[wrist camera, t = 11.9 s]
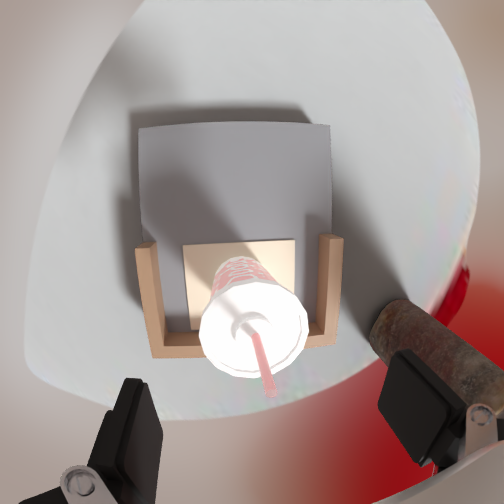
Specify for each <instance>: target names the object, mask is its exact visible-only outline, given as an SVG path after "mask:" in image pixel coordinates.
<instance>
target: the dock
mask: <svg viewBox="0 0 504 504" xmlns="http://www.w3.org/2000/svg"><path fill="white" fill-rule="evenodd" d="M138 163H139V195H140V212H141V226H142V238H143V243H142V244H140V245H139V246H138V247H136V248H135V256H136V265H137V273H138V280H139V287H140V294H141V300H142V306H143V312H144V318H145V323H146V329H147V334H148V339H149V344H150V348H151V353H152V357H153V358H201V357H206V355H205V354H204V352H203V348H202V345H201V342H200V339H199V330H200V324H201V318H202V314H203V310H204V309H205V307H206V306H207V304H208V303H209V301H210V296H211V292H212V287H213V282H214V278H215V273H216V272H217V270H218V269H219V267H220V266H221V264H223V263H224V262H226V261H227V260H229V259H230V258H235V257H240V256H243V257H249V258H253V259H254V260H256V261H257V262H259V263H260V264H262V266H263V267H264V268H265V269H266V270H267V271H268V272H269V273H270V274H271V275H272V277H273V278H274V279H275V280H276V281H277V282H278V283H279V284H281V285H282V286H284V287H285V288H287V289H288V290H290V291H292V292H293V294H295V295H296V297H297V298H298V300H299V301H300V303H301V305H302V306H303V308H304V309H305V311H306V312H307V319H308V328H309V333H308V336H307V339H306V342H305V345H304V348H303V349H306V348H313V347H320V346H327V345H333V344H336V335H337V326H338V317H339V306H340V294H341V281H342V265H343V243H344V238H341V237H339V236H336V235H334V234H332V163H331V138H330V125H323V124H310V123H294V122H268V121H230V122H203V123H187V124H175V125H164V126H154V127H146V128H139V134H138Z"/></svg>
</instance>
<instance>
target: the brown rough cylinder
mask: <svg viewBox="0 0 504 504" xmlns="http://www.w3.org/2000/svg"><path fill="white" fill-rule="evenodd" d="M369 340H370V345H371V347H372V349H373V351H374V352H375V353H376V354H377V355H378V356H379V357H380V358H381V360H382V361H383V362H384V363H385V364H386V365H387V367H389V364H390V360H391V357H392V356H393V355H394V353H395V352H396V351H399V350H403V349H406V348H409V349H411V350H412V351H413V352H414V353H415V354H416V355H417V356H418V357H419V358H420V359H421V360H422V361H423V362H424V363H425V364H427V365H428V366H429V367H430V368H431V369H432V370H433V371H434V372H435V373H436V374H437V375H438V376H439V377H440V378H441V379H442V380H443V381H444V382H445V383H446V384H447V385H448V386H449V387H450V388H451V389H452V390H453V391H454V392H455V393H456V394H457V395H458V396H459V397H460V398H461V399H462V400H463V401H464V402H465V403H466V404H467V405H466V407H465V409H466V410H468V408H469V407H470V406H472V405H474V404H480V403H481V404H485V405H487V406H489V407H491V408H492V409H493V410H494V412H495V414H496V418H499V419H504V371H503V370H502V369H500V368H499V367H498V366H496V365H495V364H494V363H493V362H492V361H490V360H489V359H488V358H487V357H485V356H484V355H483V354H481V353H480V352H479V351H477V350H476V349H475V348H473V347H472V346H471V345H470V344H468V343H467V342H466V341H464V340H463V339H461V338H460V337H459V336H457V335H456V334H455V333H453V332H452V331H451V330H449V329H448V328H447V327H445V326H444V325H443V324H441V323H440V322H439V321H437V320H436V319H434V318H433V317H432V316H430V315H429V314H428V313H426V312H425V311H423V310H422V309H421V308H419V307H418V306H416V305H415V304H413V303H412V302H410V301H409V300H405V299H403V300H394V301H392V302H391V303H389V304H388V305H386V307H385V308H384V309H383V310H382V311H381V313H380V314H379V317H378V319H377V320H376V322H375V324H374V326H373V328H372V330H371V332H370V336H369Z"/></svg>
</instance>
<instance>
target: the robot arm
mask: <svg viewBox="0 0 504 504" xmlns="http://www.w3.org/2000/svg"><path fill="white" fill-rule="evenodd" d="M466 405H467V404H466V403H465V402H464V401H463V400H462V399H461V398H460V397H459V396H458V395H457V394H456V393H455V392H454V391H453V390H452V389H451V388H450V387H449V386H448V385H447V384H446V383H445V382H444V381H443V380H442V379H441V378H440V377H439V376H438V375H437V374H436V373H435V372H434V371H433V370H432V369H431V368H430V367H429V366H428V365H427V364H425V363H424V362H423V361H422V360H421V359H420V358H419V357H418V356H417V355H416V354H415V353H414V352H413V351H412V350H411V349H409V348H406V349H403V350H399V351H396V352H395V353H394V355H393V356H392V357H391V360H390V364H389V367H388V371H387V375H386V378H385V381H384V385H383V388H382V391H381V394H380V397H379V400H378V409H379V411H380V412H381V414H382V415H383V417H384V418H385V420H386V421H387V423H388V424H389V426H390V427H391V429H392V430H393V431H394V433H395V434H396V436H397V437H398V439H399V440H400V442H401V443H402V445H403V446H404V448H405V449H406V451H407V452H408V454H409V455H410V457H411V458H412V460H413V461H414V462H415V463H418V464H419V466H420V467H423V466H425V465H427V464H429V463H431V461H433V462H434V464H435V465H434V470H433V475H432V477H430V478H429V479H427V480H425V481H423V482H421V483H419V484H417V485H415V486H413V487H411V488H409V489H406V490H404V491H402V492H400V493H397V494H395V495H393V496H391V497H388V498H385V499H383V500H380V501H378V502H375V503H373V504H504V419H499V418H496V414H495V412H494V410H493V409H492V408H491V407H489V406H487V405H485V404H481V403H480V404H474V405H472V406H470V407H469V408H468V410H466V409H465V407H466ZM162 441H163V430H162V427H161V424H160V421H159V419H158V416H157V413H156V410H155V407H154V404H153V400H152V397H151V394H150V391H149V387H148V384H147V383H143V381H142V380H141V379H138V378H126V379H125V380H124V382H123V385H122V388H121V390H120V393H119V395H118V398H117V401H116V403H115V406H114V409H113V411H112V410H108V411H107V413H106V414H105V416H104V419H103V422H102V424H101V427H100V430H99V432H98V435H97V438H96V441H95V444H94V447H93V449H92V453H91V455H90V458H89V461H88V464H87V466H80V465H77V466H73V467H70V468H68V469H67V470H66V471H65V472H64V473H63V474H62V476H61V478H60V486H59V487H57V488H55V489H52V490H50V491H47V492H45V493H42V494H39V495H37V496H34V497H31V498H29V499H26V500H23V501H22V502H20V503H19V504H155V498H156V489H157V479H158V471H159V463H160V456H161V448H162Z"/></svg>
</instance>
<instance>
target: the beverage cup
mask: <svg viewBox="0 0 504 504" xmlns="http://www.w3.org/2000/svg"><path fill="white" fill-rule="evenodd" d="M308 333H309V328H308V319H307V312H306V311H305V309H304V308H303V306H302V305H301V303H300V301H299V300H298V298H297V297H296V295H295V294H293V292H292V291H290V290H288V289H287V288H285V287H284V286H282V285H281V284H279V283H278V282H277V281H276V280H275V279H274V278H273V277H272V275H271V274H270V273H269V272H268V271H267V270H266V269H265V268H264V267H263V266H262V264H260V263H259V262H257V261H256V260H254V259H253V258H249V257H243V256H240V257H235V258H230V259H229V260H227V261H226V262H224V263H223V264H221V266H220V267H219V269H218V270H217V272H216V273H215V278H214V282H213V287H212V292H211V296H210V301H209V303H208V304H207V306H206V307H205V309H204V310H203V314H202V318H201V324H200V330H199V339H200V342H201V345H202V348H203V352H204V354H205V355H206V357H207V358H208V359H209V360H210V361H211V362H212V363H213V364H214V365H215V366H216V368H218V369H220V370H222V371H224V372H226V373H229V374H231V375H233V376H237V377H247V378H257V377H261V378H262V382H263V386H264V390H265V393H266V396H267V397H269V398H273V397H275V396H276V395H277V389H276V386H275V383H274V380H273V376H272V374H274V373H276V372H278V371H279V370H281V369H283V368H284V367H286V366H288V365H289V364H291V363H292V362H293V360H294V359H295V358H296V357H297V356H298V354H299V353H300V352H301V351H302V350H303V348H304V345H305V342H306V339H307V336H308Z"/></svg>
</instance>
